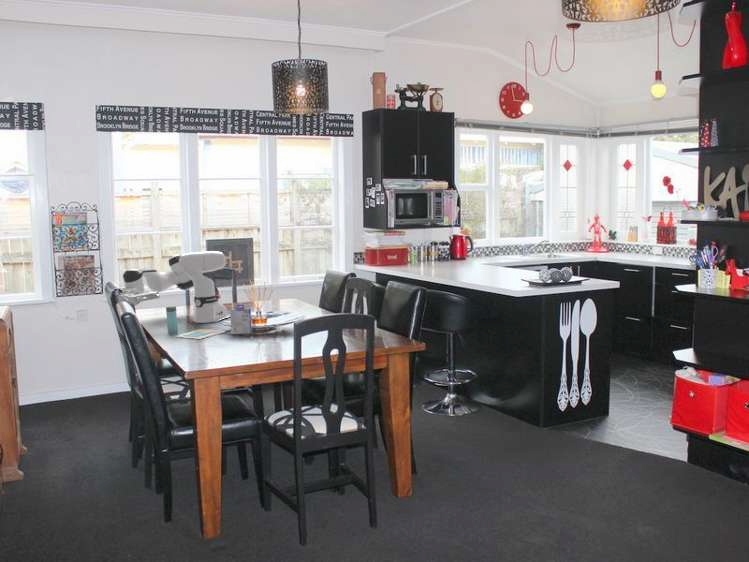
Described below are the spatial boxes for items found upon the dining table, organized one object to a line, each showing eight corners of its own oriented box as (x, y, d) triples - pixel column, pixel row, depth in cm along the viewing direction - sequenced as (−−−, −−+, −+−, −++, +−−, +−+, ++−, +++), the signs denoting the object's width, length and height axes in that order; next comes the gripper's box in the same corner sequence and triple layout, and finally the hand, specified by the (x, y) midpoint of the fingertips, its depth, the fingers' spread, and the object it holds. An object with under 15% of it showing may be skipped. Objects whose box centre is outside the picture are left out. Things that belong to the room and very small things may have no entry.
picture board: (200, 330, 383) (200, 328, 383) (225, 332, 374) (225, 330, 374) (174, 337, 366) (174, 336, 366) (199, 339, 358) (199, 338, 358)
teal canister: (172, 332, 379) (170, 306, 377) (180, 333, 377) (178, 306, 375) (165, 334, 375) (163, 307, 373) (173, 335, 372) (170, 308, 371)
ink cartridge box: (252, 331, 374) (250, 303, 372) (250, 333, 368) (248, 305, 366) (233, 332, 374) (231, 304, 372) (231, 334, 368) (229, 306, 366)
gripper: (148, 299, 395) (167, 300, 389) (118, 305, 378) (137, 306, 371) (147, 288, 395) (166, 289, 388) (117, 293, 377) (136, 294, 370)
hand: (151, 297), depth 379 cm, fingers open, 8 cm apart
